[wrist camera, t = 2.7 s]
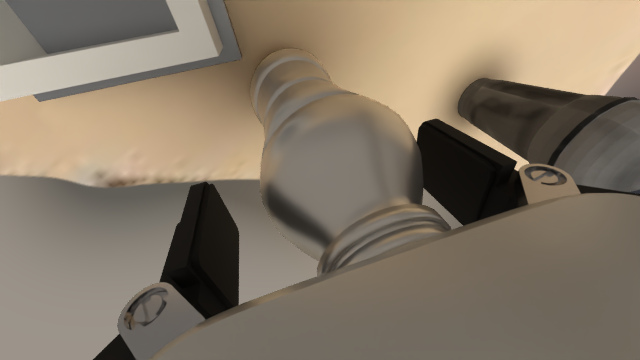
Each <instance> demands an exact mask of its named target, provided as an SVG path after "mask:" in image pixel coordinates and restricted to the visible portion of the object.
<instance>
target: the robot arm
mask: <svg viewBox="0 0 640 360" xmlns="http://www.w3.org/2000/svg"><path fill="white" fill-rule="evenodd" d="M417 145H418V147H419V149H420V152H421V160H422V171H423V188H424V189H426V190H427V191H428V192H429V193H430V194H431V195H432V196H433V197H434V198H435V199H436V200H437V201H438V202H439V203H440V204H441V205H442V206H443V207H444V208H445V209H447V210H448V211H449V212H450V213H451V214H452V215H453V216H454V217H455V218H456V219H457V220H458V221H459V222H460V223H461V224H462V225H463V226H462V227H459V228H456V229H453V230H450V231H447V232H444V233H441V234H438V235H435V236H432V237H429V238H426V239H423V240H420V241H418V242H415V243H412V244H409V245H406V246H403V247H400V248H397V249H394V250H392V251H389V252H386V253H383V254H380V255H377V256H374V257H371V258H368V259H366V260H363V261H360V262H357V263H354V264H351V265H348V266H346V267H343V268H340V269H337V270H334V271H331V272H328V273H326V274H323V275H320V276H317V277H315V278H312V279H309V280H306V281H303V282H300V283H297V284H294V285H292V286H289V287H286V288H283V289H281V290H278V291H275V292H273V293H270V294H267V295H264V296H262V297H259V298H256V299H254V300H251V301H248V302H245V303H243V304H241V305H238V303H239V290H238V289H239V231H238V228H237V226H236V224H235V222H234V220H233V218H232V217H231V215H230V213H229V211H228V209H227V208H226V206H225V205H224V202H223V200H222V199H221V197H220V195H219V193H218V192H217V190H216V188H215V186H214V185H213V184H210V185H209V184H208V183H207V182H203V183H200V184H196V185H193V186H191V187H190V190H189V194H188V197H187V200H186V204H185V207H184V211H183V214H182V218H181V221H180V223H178V224H177V226H176V229H175V233H174V236H173V239H172V242H171V246H170V250H169V252H168V256H167V259H166V262H165V266H164V269H163V272H162V276H161V279H160V282H159V283H155V284H152V285H150V286H148V287H146V288H144V289H143V290H141V291H140V292H139V293H137V294H136V295H135V296H134V297H133V298H132V299H131V300H130V301H129V302H128V303H127V305H126V306H125V307H124V309H123V310H122V312H121V314H120V316H119V319H118V325H117V326H118V330H119V333H120V334H119V335H118V336H117V337H116V338H115V339H114V340H113V341H112V342H111V343H110V344H108V345H107V347H105V348H104V349H103V350H102V352H100V353H99V354H98V355H97V356H96V357H95V358H94V359H93V360H640V194H635V193H630V192H623V191H617V190H610V189H603V188H597V187H590V186H584V185H577V184H575V182H574V180H573V178H572V177H571V176H570V175H569V174H568V173H566V172H565V171H563V170H561V169H559V168H556V167H553V166H550V165H544V164H526V165H524V166H522V167H521V168H520V169H519V171H516V170H515V169H514V168H515V166H516V163H517V161H515V160H513V159H511V158H510V157H508V156H506V155H504V154H502V153H500V152H498V151H496V150H495V149H493V148H491V147H489V146H487V145H485V144H483V143H481V142H480V141H478V140H476V139H474V138H472V137H470V136H468V135H467V134H465V133H463V132H461V131H459V130H457V129H455V128H453V127H452V126H450V125H448V124H446V123H444V122H442V121H440V120H439V119H433V120H429V121H425V122H423V123H422V125H421V126H420V127H419V130H418V137H417Z"/></svg>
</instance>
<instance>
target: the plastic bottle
mask: <svg viewBox="0 0 640 360" xmlns="http://www.w3.org/2000/svg"><path fill="white" fill-rule="evenodd" d="M250 97H251V103H252V106H253V109H254V111H255V113H256V115H257V117H258V119H259V120H260V122H261V124H262V125H263V127H264V135H265V141H264V148H263V154H262V161H261V172H260V193H261V198H262V203H263V205H264V207H265V209H266V211H267V213H268V215H269V217H270V219H271V220H272V222H273V224H274V225H275V227H276V229H277V230H278V231H279V232H280V233H281V234H282V235H283V237H285V238H286V239H287V240H288V241H290V242H291V243H292V244H294V245H295V246H296V247H297V248H298V249H300V250H301V251H303V252H304V253H306V254H307V255H309V256H311V257H312V258H314V259H316V260H317V261H319V264H318V267H317V276H320V275H323V274H326V273H328V272H331V271H334V270H337V269H340V268H343V267H346V266H348V265H351V264H354V263H357V262H360V261H363V260H366V259H368V258H371V257H374V256H377V255H380V254H383V253H386V252H389V251H392V250H394V249H397V248H400V247H403V246H406V245H409V244H412V243H415V242H418V241H420V240H423V239H426V238H429V237H432V236H435V235H438V234H441V233H444V232H447V231H450V230H451V227H450V226H449V225H448V224H447V222H446V221H445V220H444V219H443V218H442V217H441V216H440V215H439V214H438V213H437V212H436V211H435V210H434V209H432V208H430V207H428V206H425V205H422V197H423V171H422V160H421V152H420V149H419V147H418V145H417V142H416V140H415V138H414V136H413V134H412V133H411V131H410V129H409V127H408V125H407V124H406V123H405V122H404V120H403V119H402V118H401V116H400V115H399V114H397V113H396V112H395V111H393V110H392V109H390V108H389V107H388V106H385V105H383V104H381V103H379V102H377V101H375V100H373V99H370V98H367V97H365V96H362V95H358V94H355V93H352V92H349V91H346V90H343V89H341V88H340V87H338V86H336V85H335V84H333V83H332V81H331V80H330V77H329V75H328V73H327V72H326V70H325V68H324V67H323V65H322V64H321V63H320V62H319V60H318V59H317V58H316V57H314V56H313V55H312V54H310V53H308V52H306V51H304V50H301V49H295V48H286V49H281V50H278V51H275V52H273V53H272V54H270V55H268V56H267V57H266V58H265V59H264V60H263V61H261V63H260V64H259V66H258V67H257V68H256V70H255V72H254V75H253V77H252V81H251V86H250Z"/></svg>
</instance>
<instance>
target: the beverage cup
mask: <svg viewBox="0 0 640 360" xmlns="http://www.w3.org/2000/svg"><path fill="white" fill-rule="evenodd" d="M458 112H459V114H460V115H461V116H462V117H464V118H465V119H466V120H468V121H469V122H470V123H471V124H473V125H474V126H476V127H477V128H479V129H480V130H482V131H483V132H485V133H486V134H488V135H489V136H491V137H492V138H494V139H495V140H497V141H498V142H500V143H501V144H503V145H504V146H506V147H507V148H509V149H510V150H512V151H513V152H515V153H516V154H518V155H519V156H521V157H522V158H524V159H525V160H527V161H528V162H529V163H530V164H544V165H550V166H553V167H556V168H559V169H561V170H563V171H565V172H566V173H568V174H569V175H570V176H571V177H572V178H573V180H574V182H575V184H577V185H584V186H590V187H597V188H603V189H610V190H617V191H623V192H630V191H635V190H639V189H640V100H639V99H637V98H635V97H624V98H621V97H613V96H602V95H583V94H578V93H572V92H566V91H560V90H555V89H549V88H543V87H538V86H532V85H526V84H520V83H515V82H509V81H503V80H491V79H487V78H482V79H479V80H477V81H475V82H474V83H472V84H471V85H470V86H469V87H468V88H467V89H466V90H465V91H464V93H463V94H462V96H461V98H460V100H459V104H458Z"/></svg>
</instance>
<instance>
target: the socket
mask: <svg viewBox="0 0 640 360" xmlns="http://www.w3.org/2000/svg"><path fill="white" fill-rule="evenodd" d="M241 59H242V55H241V52H240V49H239V46H238V43H237V40H236V37H235V33H234V30H233V27H232V24H231V21H230V18H229V15H228V12H227V8H226V5H225V2H224V0H0V101H5V100H10V99H14V98H19V97H24V96H29V95H34V97H35V98H36V99H37V100H38V101H39V102H41V101H46V100H51V99H56V98H60V97H65V96H70V95H74V94H79V93H84V92H89V91H93V90H98V89H103V88H108V87H112V86H117V85H122V84H127V83H131V82H136V81H141V80H146V79H150V78H155V77H160V76H165V75H169V74H174V73H179V72H184V71H188V70H193V69H198V68H203V67H207V66H212V65H217V64H222V63H226V62H231V61H236V60H241Z"/></svg>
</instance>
